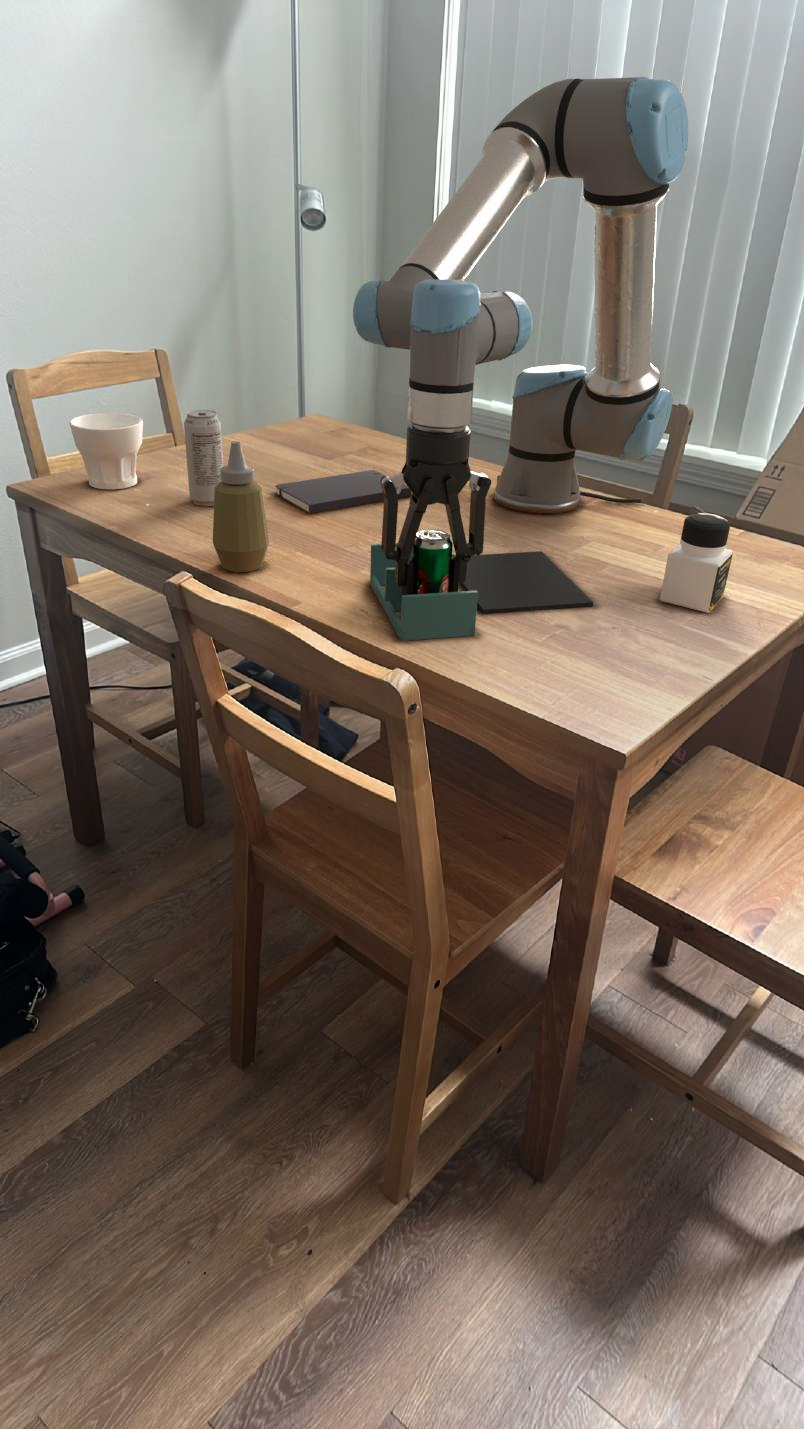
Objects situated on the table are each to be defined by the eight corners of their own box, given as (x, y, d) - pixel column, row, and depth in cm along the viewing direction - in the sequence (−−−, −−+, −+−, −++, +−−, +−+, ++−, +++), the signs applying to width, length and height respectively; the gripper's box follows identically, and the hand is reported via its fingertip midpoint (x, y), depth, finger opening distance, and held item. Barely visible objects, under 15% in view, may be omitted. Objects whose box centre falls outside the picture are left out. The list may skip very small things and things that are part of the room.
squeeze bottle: (224, 579, 134) (216, 452, 125) (206, 560, 140) (198, 437, 131) (278, 571, 138) (274, 447, 129) (258, 553, 144) (253, 433, 135)
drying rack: (435, 580, 137) (438, 540, 134) (474, 635, 121) (478, 592, 118) (370, 584, 135) (370, 543, 132) (401, 641, 119) (402, 597, 116)
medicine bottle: (709, 614, 130) (727, 529, 124) (658, 601, 133) (674, 518, 127) (723, 597, 135) (741, 515, 129) (674, 585, 138) (690, 505, 132)
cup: (163, 481, 173) (157, 419, 168) (111, 497, 164) (103, 433, 159) (115, 469, 179) (108, 409, 173) (62, 484, 170) (53, 421, 164)
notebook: (309, 513, 160) (411, 495, 171) (308, 504, 160) (412, 487, 170) (273, 493, 169) (373, 477, 180) (273, 484, 169) (373, 469, 179)
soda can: (444, 632, 122) (449, 543, 116) (405, 628, 122) (409, 539, 116) (450, 617, 126) (456, 530, 120) (413, 612, 127) (416, 526, 121)
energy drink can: (222, 495, 168) (217, 408, 160) (228, 505, 163) (222, 416, 155) (187, 497, 166) (180, 409, 158) (192, 508, 161) (185, 418, 153)
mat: (541, 554, 147) (541, 551, 147) (593, 606, 131) (593, 602, 130) (442, 560, 144) (442, 556, 144) (482, 613, 127) (483, 609, 127)
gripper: (502, 415, 116) (487, 591, 128) (356, 418, 112) (354, 599, 124) (523, 430, 110) (505, 614, 122) (369, 434, 106) (365, 623, 118)
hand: (429, 606), depth 123 cm, fingers open, 5 cm apart
